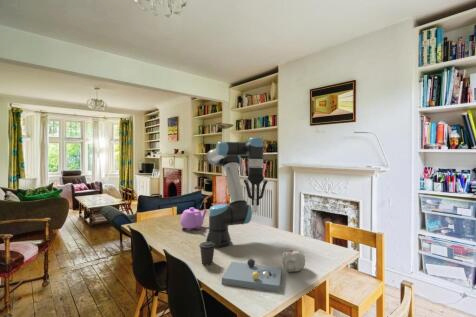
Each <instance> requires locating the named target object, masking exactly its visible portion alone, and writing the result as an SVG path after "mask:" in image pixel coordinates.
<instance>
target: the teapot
mask: <svg viewBox="0 0 476 317" xmlns="http://www.w3.org/2000/svg"><path fill="white" fill-rule="evenodd" d="M207 210H208V209H203V211H202V212H201V211H200V209H198V208H197V209H196V208H195V207H189V209H188V208H187V209H185V210H183V212H182V214H181V216H180V222H179V223H180V225H181V227H182V228H183V229H186V231H187V232H190V231H192V229H196V230H201V227H202V226H203V224H204V220H205V217H206V214H207Z"/></svg>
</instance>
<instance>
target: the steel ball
mask: <svg viewBox="0 0 476 317" xmlns="http://www.w3.org/2000/svg"><path fill="white" fill-rule="evenodd" d="M262 276H265V277H270V274H269V273H268V272H266V271H265V272H263V273H262Z"/></svg>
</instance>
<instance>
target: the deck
mask: <svg viewBox="0 0 476 317" xmlns="http://www.w3.org/2000/svg"><path fill="white" fill-rule="evenodd" d="M265 271H266V272H268V273H269V274H270V277H265V276H262V273H263V272H265ZM253 272H258V274H259V278H258V279H257V280H254V279H253V278H252V274H253ZM282 274H283V268H282V267H281V266H280V267H279V266H271V265H263V264H256V263H255V264H254V266H252V267H250V266H248V264H247V262H245V263H244V262H240V261H239V262H238V261H231V262H230V264H229V266H228V267H227V268H226V271H225V272H224V273H223V275H222V277H221V285H229V286H236V287H241V288H248V289H257V290H263V291H269V292H270V291H271V292H278V293H279V292H280V289H281V281H282Z"/></svg>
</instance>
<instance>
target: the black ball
mask: <svg viewBox="0 0 476 317" xmlns="http://www.w3.org/2000/svg"><path fill="white" fill-rule="evenodd" d="M246 263H247V264H248V266H250V267H252V266H254V264H256V261H255V259H253V258H249V259H247V262H246Z"/></svg>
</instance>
